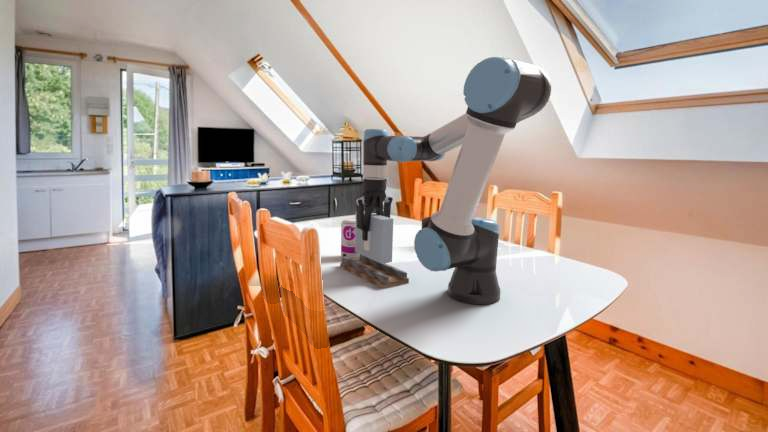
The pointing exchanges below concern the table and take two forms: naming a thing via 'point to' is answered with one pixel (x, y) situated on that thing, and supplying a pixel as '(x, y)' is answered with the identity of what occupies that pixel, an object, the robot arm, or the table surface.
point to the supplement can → (348, 239)
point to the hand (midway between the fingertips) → (373, 248)
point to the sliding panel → (376, 239)
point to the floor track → (375, 272)
